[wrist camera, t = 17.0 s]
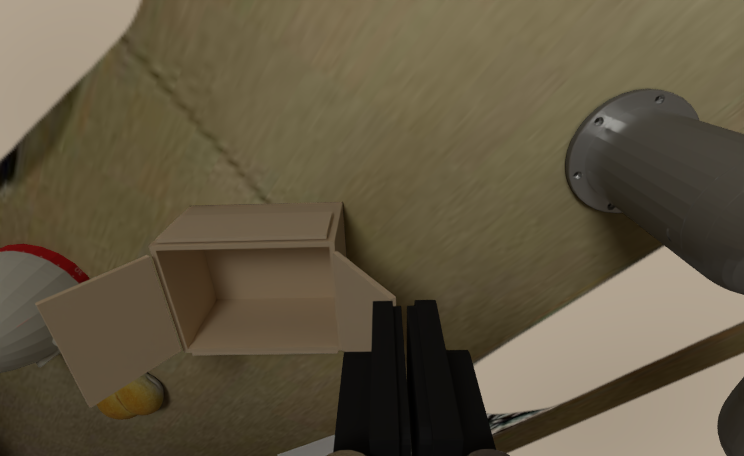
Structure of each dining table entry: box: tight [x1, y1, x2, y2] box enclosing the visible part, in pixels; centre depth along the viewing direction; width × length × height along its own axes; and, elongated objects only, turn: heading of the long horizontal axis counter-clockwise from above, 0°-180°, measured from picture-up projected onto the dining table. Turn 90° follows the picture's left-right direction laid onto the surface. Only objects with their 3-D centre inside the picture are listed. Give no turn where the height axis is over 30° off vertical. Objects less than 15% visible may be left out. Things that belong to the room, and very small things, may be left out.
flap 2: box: [333, 251, 396, 352], centre depth 35 cm, size 1×11×9 cm
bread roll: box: [97, 373, 164, 419], centre depth 56 cm, size 8×9×4 cm
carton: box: [149, 202, 347, 355], centre depth 43 cm, size 17×14×9 cm
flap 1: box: [35, 255, 181, 408], centre depth 36 cm, size 1×11×9 cm
